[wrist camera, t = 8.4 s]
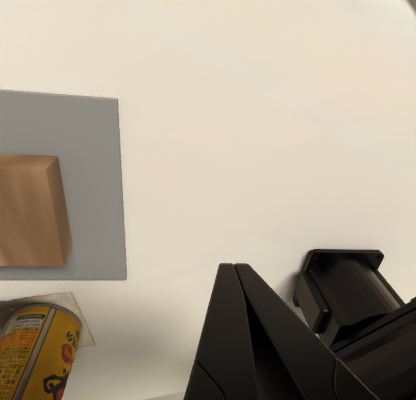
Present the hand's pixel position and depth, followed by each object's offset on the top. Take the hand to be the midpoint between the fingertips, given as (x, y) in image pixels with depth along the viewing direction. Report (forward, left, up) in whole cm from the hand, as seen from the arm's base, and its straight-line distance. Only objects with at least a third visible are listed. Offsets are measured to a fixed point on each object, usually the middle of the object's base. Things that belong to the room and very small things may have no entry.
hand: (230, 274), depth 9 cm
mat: (+11, +5, -12) cm, 17 cm away
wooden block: (+9, +5, -10) cm, 14 cm away
